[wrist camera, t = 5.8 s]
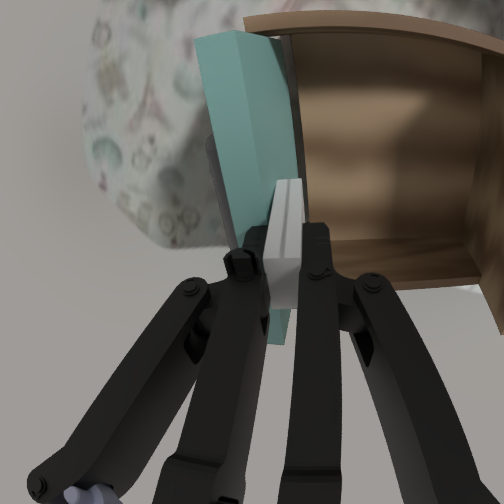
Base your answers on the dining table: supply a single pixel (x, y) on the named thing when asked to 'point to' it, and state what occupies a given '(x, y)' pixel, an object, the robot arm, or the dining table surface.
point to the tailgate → (248, 134)
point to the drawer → (402, 145)
